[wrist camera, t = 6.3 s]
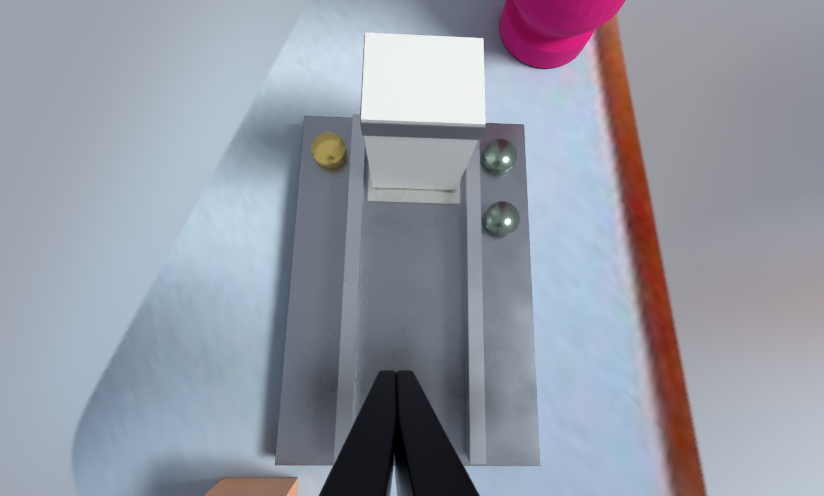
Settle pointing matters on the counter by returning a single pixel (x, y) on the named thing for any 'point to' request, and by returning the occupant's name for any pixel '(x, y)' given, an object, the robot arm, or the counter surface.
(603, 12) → the pepper mill
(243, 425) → the counter surface
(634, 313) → the counter surface
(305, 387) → the panel
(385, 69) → the plate
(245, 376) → the counter surface
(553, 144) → the counter surface
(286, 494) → the orange cube
